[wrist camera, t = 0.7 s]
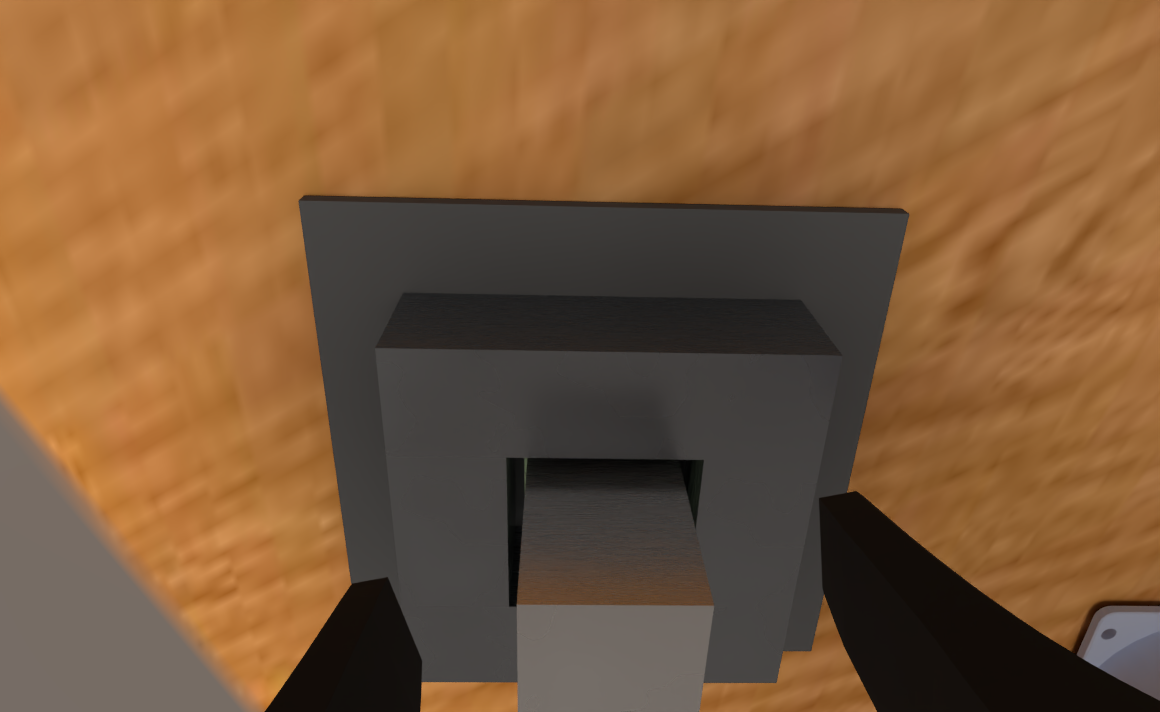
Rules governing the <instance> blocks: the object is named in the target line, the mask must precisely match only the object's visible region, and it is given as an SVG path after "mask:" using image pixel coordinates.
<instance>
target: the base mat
mask: <svg viewBox="0 0 1160 712" xmlns="http://www.w3.org/2000/svg"><path fill="white" fill-rule="evenodd" d="M299 208H300V215H301V222H302V229H303V237H304V244H305V251H306V258H307V266H308V273H309V280H310V287H311V295H312V302H313V309H314V316H315V323H316V331H317V338H318V345H319V352H320V360H321V367H322V374H323V381H324V389H325V396H326V403H327V410H328V418H329V425H330V432H331V439H332V446H333V454H334V461H335V468H336V475H337V483H338V490H339V497H340V504H341V512H342V519H343V526H344V533H345V540H346V548H347V555H348V562H349V569H350V577H351V584H352V583H358V582H363V581H369V580H374V579H380V578H385V577H388V579H389V581H390V583H391V586H392V588H393V591H394V593H395V596H396V598H397V600H398V603H399V605H400V608H401V599H400V589H399V579H398V569H397V559H396V550H395V540H394V530H393V520H392V510H391V501H390V491H389V481H388V471H387V461H386V452H385V442H384V432H383V422H382V412H381V402H380V393H379V383H378V373H377V363H376V353H375V347H376V345H377V343H378V341H379V339H380V337H381V335H382V333H383V331H384V329H385V327H386V325H387V324H388V322H389V320H390V318H391V316H392V314H393V312H394V310H395V308H396V306H397V304H398V302H399V300H400V298H401V296H402V294H403V293H451V294H506V295H561V296H616V297H671V298H726V299H781V300H801V301H802V302H803V303H804V305H805V306H806V307H807V309H808V310H809V311H810V313H811V314H812V315H813V317H814V318H815V319H816V321H817V322H818V323H819V325H820V326H821V327H822V329H823V330H824V331H825V333H826V334H827V335H828V337H829V338H830V339H831V341H832V342H833V343H834V345H835V346H836V347H837V349H838V350H839V351H840V353H841V354H842V355H843V356H842V361H841V366H840V371H839V376H838V381H837V386H836V391H835V396H834V401H833V406H832V411H831V416H830V420H829V425H828V430H827V435H826V440H825V445H824V450H823V455H822V460H821V465H820V470H819V475H818V480H817V485H816V490H815V495H814V500H813V505H812V510H811V514H810V519H809V524H808V529H807V534H806V539H805V544H804V549H803V554H802V559H801V564H800V569H799V574H798V579H797V584H796V589H795V594H794V599H793V604H792V608H791V613H790V618H789V623H788V628H787V633H786V638H785V643H784V648H783V651H811V649H812V645H813V640H814V636H815V631H816V627H817V622H818V618H819V614H820V609H821V605H822V600H823V596H824V592H823V589H822V565H821V539H820V514H819V498H821V497H827V496H832V495H838V494H843V493H847V489H848V485H849V480H850V476H851V471H852V467H853V462H854V458H855V453H856V449H857V444H858V440H859V436H860V431H861V427H862V422H863V418H864V413H865V409H866V404H867V400H868V396H869V391H870V387H871V382H872V378H873V373H874V369H875V364H876V360H877V356H878V351H879V347H880V342H881V338H882V333H883V329H884V324H885V320H886V315H887V311H888V307H889V302H890V298H891V293H892V289H893V284H894V280H895V275H896V271H897V267H898V262H899V258H900V253H901V249H902V244H903V240H904V235H905V231H906V227H907V222H908V218H909V213H907V212H906V211H904V210H903V209H889V208H844V207H798V206H753V205H708V204H662V203H617V202H572V201H526V200H481V199H436V198H390V197H345V196H303V197H302V198H301V199H300V200H299ZM524 498H525V479H524V458H515V501H516V526H522V525H523V512H524ZM401 610H402V608H401Z"/></svg>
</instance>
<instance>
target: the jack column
mask: <svg viewBox="0 0 1160 712" xmlns="http://www.w3.org/2000/svg"><path fill="white" fill-rule="evenodd" d="M524 479H525V498H524V512H523V525H522V539H521V553H520V566H519V580H518V594H517V671H518V712H699V709H700V702H701V695H702V688H703V681H704V674H705V667H706V660H707V653H708V646H709V639H710V632H711V625H712V618H713V611H714V603H713V599H712V595H711V591H710V586H709V582H708V578H707V574H706V570H705V566H704V562H703V558H702V553H701V549H700V545H699V541H698V537H697V533H696V529H695V525H694V520H693V516H692V512H691V508H690V504H689V500H688V496H687V492H686V488H685V483H684V479H683V475H682V471H681V467H680V463H679V460H672V459H585V458H524Z"/></svg>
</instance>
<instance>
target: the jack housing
mask: <svg viewBox="0 0 1160 712" xmlns="http://www.w3.org/2000/svg"><path fill="white" fill-rule="evenodd" d="M375 353H376V363H377V373H378V383H379V393H380V402H381V412H382V422H383V432H384V442H385V452H386V461H387V471H388V481H389V491H390V501H391V510H392V520H393V530H394V540H395V550H396V559H397V569H398V579H399V589H400V599H401V608H402V613H403V615H404V617H405V620H406V622H407V625H408V627H409V630H410V632H411V635H412V637H413V639H414V642H415V644H416V647H417V649H418V652H419V654H420V656H421V659H422V682H518V671H517V594H518V580H519V566H520V553H521V539H522V526H516V501H515V458H585V459H672V460H679V463H680V467H681V471H682V475H683V479H684V483H685V488H686V492H687V496H688V500H689V504H690V508H691V512H692V516H693V520H694V525H695V529H696V533H697V537H698V541H699V545H700V549H701V553H702V558H703V562H704V566H705V570H706V574H707V578H708V582H709V586H710V591H711V595H712V599H713V603H714V611H713V618H712V625H711V632H710V639H709V646H708V653H707V660H706V667H705V674H704V681H703V683H777V678H778V673H779V668H780V663H781V658H782V653H783V648H784V643H785V638H786V633H787V628H788V623H789V618H790V613H791V608H792V604H793V599H794V594H795V589H796V584H797V579H798V574H799V569H800V564H801V559H802V554H803V549H804V544H805V539H806V534H807V529H808V524H809V519H810V514H811V510H812V505H813V500H814V495H815V490H816V485H817V480H818V475H819V470H820V465H821V460H822V455H823V450H824V445H825V440H826V435H827V430H828V425H829V420H830V416H831V411H832V406H833V401H834V396H835V391H836V386H837V381H838V376H839V371H840V366H841V361H842V356H843V355H842V354H841V353H840V351H839V350H838V349H837V347H836V346H835V345H834V343H833V342H832V341H831V339H830V338H829V337H828V335H827V334H826V333H825V331H824V330H823V329H822V327H821V326H820V325H819V323H818V322H817V321H816V319H815V318H814V317H813V315H812V314H811V313H810V311H809V310H808V309H807V307H806V306H805V305H804V303H803V302H802V301H801V300H781V299H726V298H671V297H616V296H561V295H506V294H451V293H403V294H402V296H401V298H400V300H399V302H398V304H397V306H396V308H395V310H394V312H393V314H392V316H391V318H390V320H389V322H388V324H387V325H386V327H385V329H384V331H383V333H382V335H381V337H380V339H379V341H378V343H377V345H376V347H375Z"/></svg>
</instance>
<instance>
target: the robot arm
mask: <svg viewBox="0 0 1160 712" xmlns="http://www.w3.org/2000/svg"><path fill="white" fill-rule="evenodd" d="M819 514H820V539H821V565H822V589H823V592H824V594H825V597H826V600H827V603H828V605H829V608H830V611H831V613H832V616H833V619H834V622H835V624H836V627H837V629H838V632H839V634H840V637H841V640H842V642H843V645H844V647H845V649H846V651H847V653H848V655H849V657H850V659H851V661H852V663H853V665H854V667H855V669H856V671H857V673H858V675H859V677H860V679H861V681H862V683H863V685H864V687H865V689H866V691H867V693H868V695H869V696H870V698H871V700H872V702H873V704H874V706H875V708H876V710H877V712H1160V606H1106V607H1103V608H1101V609H1099V610H1098V611H1097V612H1096V613H1095V615H1094V616H1093V619H1092V621H1091V623H1090V625H1089V628H1088V630H1087V632H1086V635H1085V637H1084V639H1083V641H1082V644H1081V646H1080V648H1079V650H1078V653H1077V655H1076V654H1074V653H1072V652H1071V651H1069V650H1067V649H1066V648H1064V647H1062V646H1061V645H1059V644H1058V643H1056V642H1054V641H1053V640H1051V639H1049V638H1048V637H1046V636H1045V635H1043V634H1042V633H1040V632H1039V631H1037V630H1035V629H1034V628H1032V627H1031V626H1029V625H1028V624H1026V623H1025V622H1023V621H1022V620H1020V619H1019V618H1018V617H1016V616H1015V615H1013V614H1012V613H1010V612H1009V611H1007V610H1006V609H1005V608H1003V607H1002V606H1000V605H999V604H997V603H996V602H995V601H993V600H992V599H990V598H989V597H988V596H986V595H985V594H983V593H982V592H981V591H979V590H978V589H977V588H975V587H974V586H973V585H971V584H970V583H968V582H967V581H966V580H965V579H963V578H962V577H961V576H959V575H958V574H957V573H956V572H954V571H953V570H952V569H950V568H949V567H948V566H946V565H945V564H944V563H943V562H941V561H940V560H939V559H937V558H936V557H935V556H934V555H932V554H931V553H930V552H929V551H927V550H926V549H925V548H924V547H922V546H921V545H920V544H919V543H918V542H916V541H915V540H914V539H913V538H912V537H910V536H909V535H908V534H907V533H906V532H904V531H903V530H902V529H901V528H900V527H898V526H897V525H896V524H895V523H894V522H893V521H891V520H890V519H889V518H888V517H887V516H886V515H884V514H883V513H882V512H881V511H880V510H879V509H877V508H876V507H875V506H874V505H873V504H872V503H871V502H869V501H868V500H867V499H866V498H865V497H864V496H862V495H861V494H860V493H858V492H857V491H854V492H849V493H843V494H838V495H832V496H827V497H821V498H819ZM421 683H422V659H421V656H420V654H419V652H418V649H417V647H416V644H415V642H414V639H413V637H412V635H411V632H410V630H409V627H408V625H407V622H406V620H405V617H404V615H403V613H402V610H401V608H400V605H399V603H398V600H397V598H396V596H395V593H394V591H393V588H392V586H391V583H390V581H389V579H388V577H385V578H380V579H374V580H369V581H363V582H358V583H352V585H351V586H350V587H349V589H348V590H347V592H346V593H345V595H344V596H343V598H342V599H341V600H340V602H339V603H338V605H337V606H336V608H335V609H334V611H333V613H332V614H331V616H330V617H329V619H328V620H327V622H326V623H325V625H324V626H323V628H322V629H321V631H320V632H319V634H318V635H317V637H316V638H315V640H314V641H313V643H312V644H311V646H310V647H309V649H308V650H307V652H306V653H305V655H304V656H303V658H302V659H301V661H300V662H299V664H298V665H297V666H296V668H295V669H294V671H293V672H292V674H291V675H290V677H289V678H288V679H287V681H286V682H285V684H284V685H283V687H282V688H281V690H280V691H279V692H278V694H277V695H276V697H275V698H274V700H273V701H272V702H271V704H270V705H269V707H268V708H267V709H266V711H265V712H420V705H421Z"/></svg>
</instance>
